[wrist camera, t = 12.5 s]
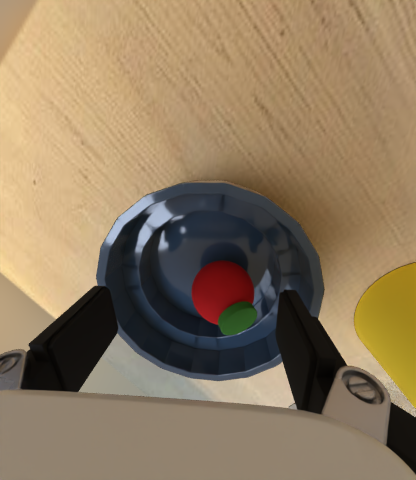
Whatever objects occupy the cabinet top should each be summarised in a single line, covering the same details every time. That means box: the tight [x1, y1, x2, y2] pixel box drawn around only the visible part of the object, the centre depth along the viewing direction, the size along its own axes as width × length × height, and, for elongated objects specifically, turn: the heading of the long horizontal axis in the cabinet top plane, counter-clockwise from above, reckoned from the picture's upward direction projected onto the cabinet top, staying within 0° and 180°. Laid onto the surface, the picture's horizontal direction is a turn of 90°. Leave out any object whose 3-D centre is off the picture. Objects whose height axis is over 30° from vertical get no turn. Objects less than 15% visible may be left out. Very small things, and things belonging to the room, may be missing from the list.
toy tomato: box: [192, 260, 257, 335], centre depth 14 cm, size 5×5×5 cm
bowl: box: [96, 180, 324, 381], centre depth 15 cm, size 14×14×5 cm
